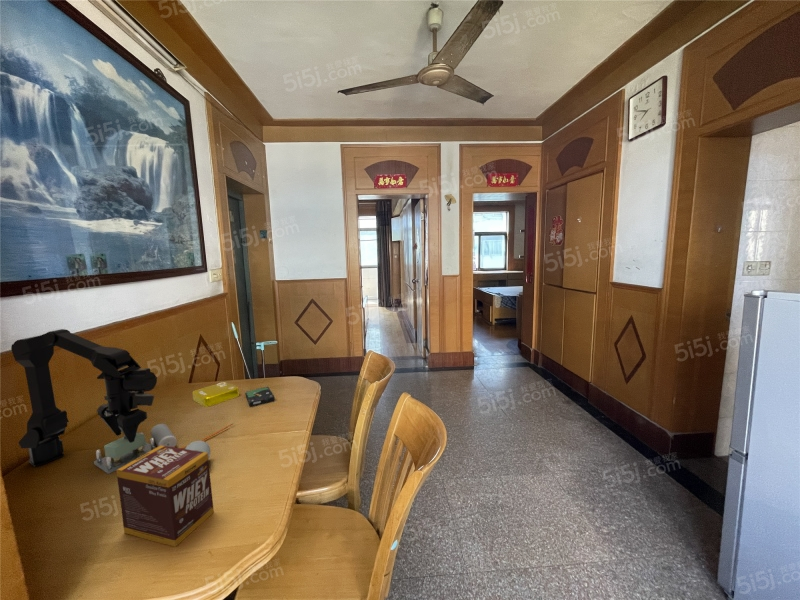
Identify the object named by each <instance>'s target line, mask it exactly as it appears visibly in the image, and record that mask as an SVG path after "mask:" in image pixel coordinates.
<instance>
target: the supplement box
mask: <svg viewBox="0 0 800 600" xmlns="http://www.w3.org/2000/svg"><path fill="white" fill-rule="evenodd" d="M181 448H182V447H176V446H175V447H168V446H163V445H161V446H159V447H158V446H157V448H155V449H153V450H152V451H150V452H148V453H146V454H144V455H143V456H141V457H139V458H137V459H135V460H133V461H132V462H130V463H128V464H126V465H125V466H123V467H121V468H119V469H117V470H116V471H115V472H116V478H117V485H118V493H119V500H120V508H121V516H122V518H121V519H122V527H123V532H124V534H128V535H130V536H133V537H134V536H135V537H138V538H141V539H145V540H149V541H153V542H156V543H159V544H163V545H167V546H170V547H173V548H175V547H177V546H178V545H179V544H181V542H182V541H184V540H185V539H186V538H187V537H189V535H190V534H191V533H193V532H194V531H195V529H197V528H198V527H199V526H200V525H201V524H203V522H205V521H206V520H207V519H208V518H209V517H210V516H211V515H212V514H214V512H215V509H214V503H213V502H214V501H213V492H212V482H211V473H210V472H211V471H210V464H209V462H210V461H209V460H208V453H206V452H199V451H193V450H188V449H181Z"/></svg>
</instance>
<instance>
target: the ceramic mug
mask: <svg viewBox="0 0 800 600" xmlns="http://www.w3.org/2000/svg"><path fill="white" fill-rule="evenodd" d="M186 446H187V447H186ZM186 446H185V447H186V448H185V449H188V450H193V451H199V452H206V453H208V461H209V460H210V455H211V447H210V444H208V442H206V441H205V442H204V440H203V441H201V440H195V441H192V442H190V443H189V444H188V445H186Z"/></svg>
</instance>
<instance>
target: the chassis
mask: <svg viewBox="0 0 800 600" xmlns="http://www.w3.org/2000/svg"><path fill="white" fill-rule="evenodd" d="M141 433H142V434H144V433H143V432H141ZM155 445H156V444H155V441H154V438H153V437H151V438H149V442H147V441H146V444H145V445H143V446H141V447H139V448H137V449H135V450H133V451H131V452H129V453H127V454H125V455H123V456H121V457H119V458H118V459H113V458H111V456H107V457H106V456H104V457H102V454H101V453H102V452H101V449H97V450H95V455H96V456H95V457H96V459H95V460H94V461H93V464H94V465H95V466H96V467H97V468H99V469H100V470H101V471H103V472H104V473H106V474H108V475H109V474H111V473H114V472H116V470H117V469H119V468H121V467H123V466H125V465H126V464H128V463H130V462H132V461H133V460H135V459H137V458H139V457H141V456H143V455H144V454H146V453H148V452H150V451H152V450H153V449H155V448H157V447H158V446H157V447H156V446H155Z"/></svg>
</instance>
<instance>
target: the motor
mask: <svg viewBox="0 0 800 600" xmlns="http://www.w3.org/2000/svg"><path fill="white" fill-rule="evenodd" d="M234 424H235V422H232V423H230V424H229V425H227V426H225V427H223V428H222V429H220V430H219V431H218V430H217V431H216V432H214V433H212V434H211V435H209V436H207V437H204V438H203V439H201V440H200V441H204V442H206V441H209V440H211V439H213V438H215V437H216V436H218V435H219V434H222V433H224V432H226V431H227V429H228V428H230V427H232V426H233V425H234ZM150 436H151V438H154V444H155V445H156V446H157V447H159V446H161V445H163V446H168V447H175V448H176V446H177V443H178V440H177V438H176V436H175V435H174V433H172V431H171V430H170V428H169V427H168V425H167V424H166V423H158V424H156V425H155V426H152V428H151V431H150ZM187 446H188V445H186V446H183V447H180V448H181V449H185V448H186V447H187Z"/></svg>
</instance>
